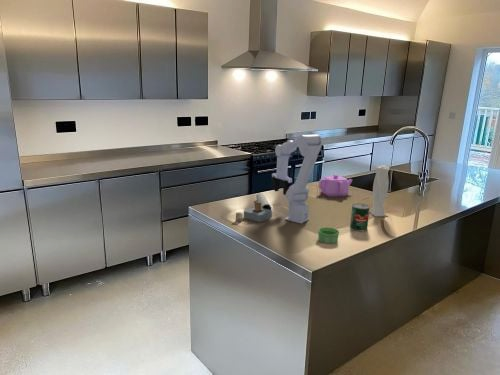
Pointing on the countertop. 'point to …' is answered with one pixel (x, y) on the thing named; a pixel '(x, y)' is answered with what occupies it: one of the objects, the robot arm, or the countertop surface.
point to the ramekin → (328, 235)
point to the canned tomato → (359, 217)
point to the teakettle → (334, 186)
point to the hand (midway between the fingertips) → (280, 192)
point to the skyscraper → (380, 190)
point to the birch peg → (239, 216)
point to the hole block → (258, 214)
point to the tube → (263, 201)
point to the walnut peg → (257, 207)
